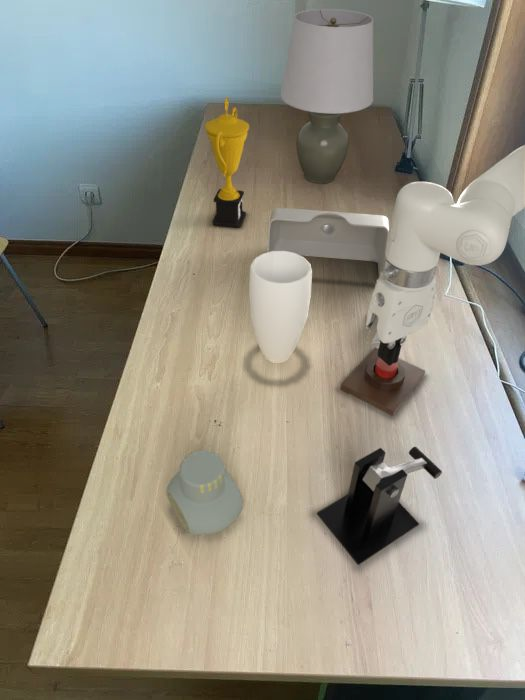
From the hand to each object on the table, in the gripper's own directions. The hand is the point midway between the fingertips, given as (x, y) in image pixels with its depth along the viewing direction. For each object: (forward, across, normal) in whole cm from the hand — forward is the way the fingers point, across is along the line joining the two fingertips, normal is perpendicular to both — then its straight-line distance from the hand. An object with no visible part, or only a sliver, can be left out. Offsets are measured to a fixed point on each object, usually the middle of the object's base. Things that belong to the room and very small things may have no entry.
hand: (387, 359), depth 95 cm
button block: (+6, 0, 0) cm, 6 cm away
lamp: (+7, +41, +72) cm, 83 cm away
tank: (+7, +15, +36) cm, 39 cm away
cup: (+7, -13, +14) cm, 20 cm away
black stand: (+6, -20, -19) cm, 28 cm away
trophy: (+7, +6, +63) cm, 64 cm away
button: (+3, 0, 0) cm, 3 cm away
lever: (-2, -16, -19) cm, 25 cm away
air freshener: (+7, -38, -5) cm, 39 cm away
